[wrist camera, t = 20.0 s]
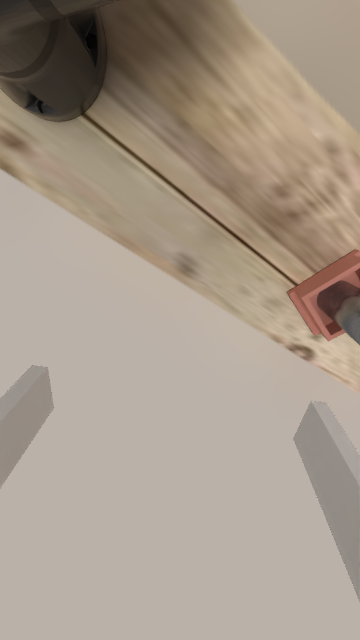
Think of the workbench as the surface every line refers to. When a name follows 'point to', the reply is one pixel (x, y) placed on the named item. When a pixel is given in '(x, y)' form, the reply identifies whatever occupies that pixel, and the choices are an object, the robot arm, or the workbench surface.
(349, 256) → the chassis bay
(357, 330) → the motor housing
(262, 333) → the workbench surface
